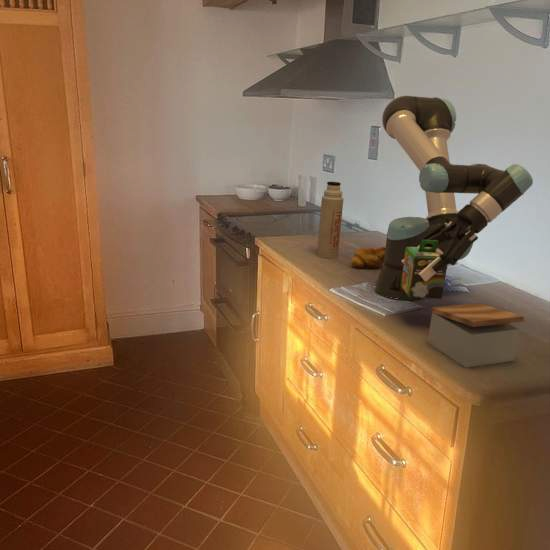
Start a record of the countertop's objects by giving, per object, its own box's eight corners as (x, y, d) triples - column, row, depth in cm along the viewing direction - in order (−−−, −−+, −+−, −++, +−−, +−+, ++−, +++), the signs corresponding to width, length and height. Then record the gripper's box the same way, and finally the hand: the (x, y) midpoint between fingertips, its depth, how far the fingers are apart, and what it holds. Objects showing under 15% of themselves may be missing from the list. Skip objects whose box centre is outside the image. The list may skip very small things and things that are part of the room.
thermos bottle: (341, 258, 208) (349, 183, 200) (323, 259, 205) (330, 183, 197) (331, 252, 215) (338, 180, 207) (313, 253, 212) (319, 180, 204)
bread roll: (355, 271, 193) (357, 248, 191) (344, 263, 202) (346, 242, 199) (388, 270, 197) (391, 248, 194) (376, 262, 206) (378, 241, 203)
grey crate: (427, 342, 136) (432, 312, 134) (472, 337, 141) (478, 307, 139) (465, 367, 124) (471, 334, 121) (513, 360, 129) (520, 329, 126)
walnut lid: (430, 311, 134) (430, 306, 134) (477, 307, 139) (477, 302, 139) (473, 326, 120) (473, 321, 120) (523, 321, 126) (523, 316, 125)
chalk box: (432, 287, 152) (440, 235, 147) (443, 299, 143) (452, 244, 139) (399, 285, 151) (406, 233, 147) (408, 297, 143) (416, 242, 138)
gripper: (511, 234, 134) (441, 295, 136) (463, 214, 155) (403, 267, 157) (495, 212, 131) (424, 275, 133) (449, 194, 152) (388, 249, 154)
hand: (413, 271), depth 145 cm, fingers closed on chalk box, 10 cm apart
